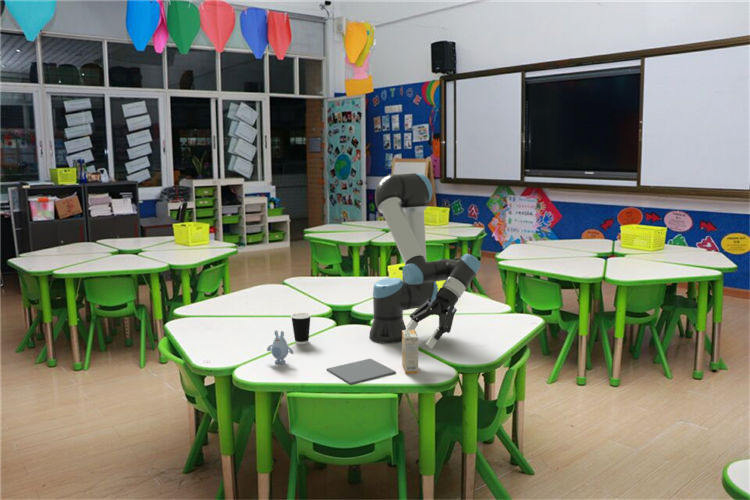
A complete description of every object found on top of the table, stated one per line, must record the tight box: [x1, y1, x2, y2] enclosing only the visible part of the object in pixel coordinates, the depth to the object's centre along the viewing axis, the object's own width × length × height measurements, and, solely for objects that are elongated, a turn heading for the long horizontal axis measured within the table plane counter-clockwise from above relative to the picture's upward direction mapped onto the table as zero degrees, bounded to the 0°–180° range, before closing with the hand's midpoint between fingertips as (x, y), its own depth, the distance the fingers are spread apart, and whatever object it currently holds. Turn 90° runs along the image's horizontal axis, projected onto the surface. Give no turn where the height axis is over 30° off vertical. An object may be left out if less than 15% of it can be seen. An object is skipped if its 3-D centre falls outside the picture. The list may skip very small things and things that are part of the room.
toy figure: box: [266, 329, 294, 365], centre depth 231 cm, size 11×6×12 cm, turn 70°
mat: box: [326, 358, 397, 385], centre depth 222 cm, size 18×16×1 cm
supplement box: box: [401, 329, 419, 375], centre depth 222 cm, size 8×5×13 cm, turn 5°
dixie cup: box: [290, 312, 312, 345], centre depth 254 cm, size 8×8×11 cm
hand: (416, 341), depth 223 cm, fingers open, 13 cm apart
